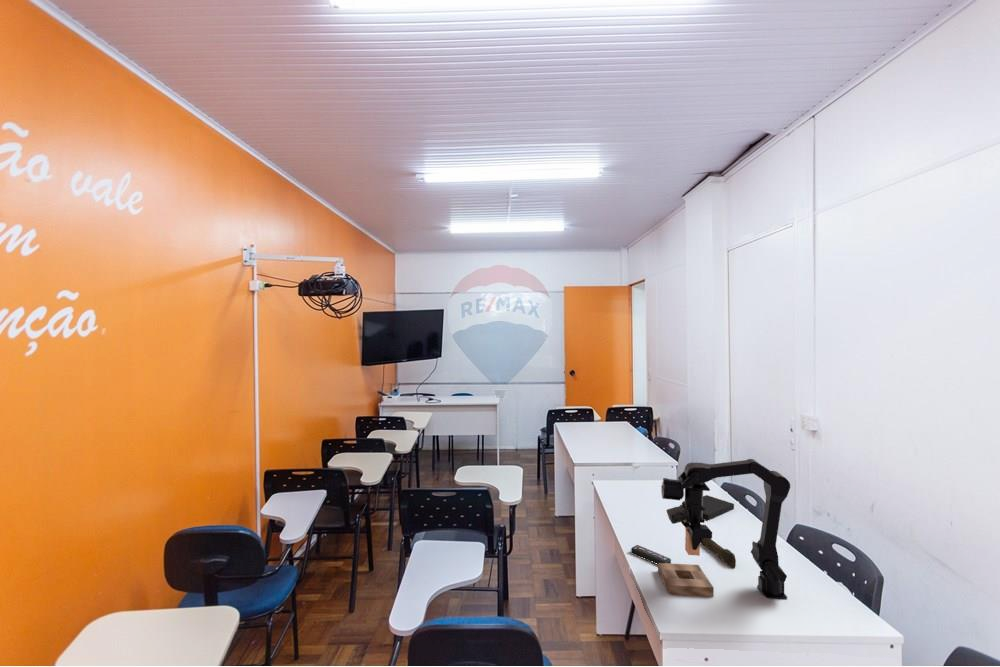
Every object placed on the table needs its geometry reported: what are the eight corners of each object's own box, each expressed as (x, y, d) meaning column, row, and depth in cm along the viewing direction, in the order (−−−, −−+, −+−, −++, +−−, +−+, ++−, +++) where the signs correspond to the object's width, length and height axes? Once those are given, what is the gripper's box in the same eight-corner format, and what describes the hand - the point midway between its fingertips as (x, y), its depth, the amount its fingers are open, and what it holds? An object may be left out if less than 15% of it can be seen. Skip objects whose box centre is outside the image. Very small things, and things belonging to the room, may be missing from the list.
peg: (695, 550, 153) (696, 527, 153) (699, 555, 149) (700, 532, 149) (685, 549, 153) (685, 526, 153) (688, 554, 150) (689, 531, 149)
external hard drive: (679, 511, 213) (679, 505, 213) (706, 500, 226) (706, 494, 226) (707, 521, 201) (707, 515, 201) (734, 509, 215) (734, 503, 215)
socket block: (698, 573, 158) (698, 564, 158) (713, 596, 144) (713, 587, 144) (658, 571, 159) (658, 562, 159) (669, 594, 145) (669, 585, 145)
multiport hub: (665, 569, 161) (665, 562, 161) (630, 553, 172) (630, 547, 172) (671, 565, 164) (671, 558, 164) (637, 550, 175) (637, 544, 175)
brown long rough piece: (699, 544, 180) (699, 532, 180) (708, 543, 180) (708, 532, 180) (728, 569, 161) (728, 556, 161) (738, 568, 161) (738, 556, 161)
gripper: (662, 490, 161) (660, 532, 161) (677, 511, 143) (676, 559, 143) (693, 492, 160) (692, 534, 160) (713, 513, 141) (712, 561, 142)
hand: (692, 546), depth 151 cm, fingers closed on peg, 4 cm apart
